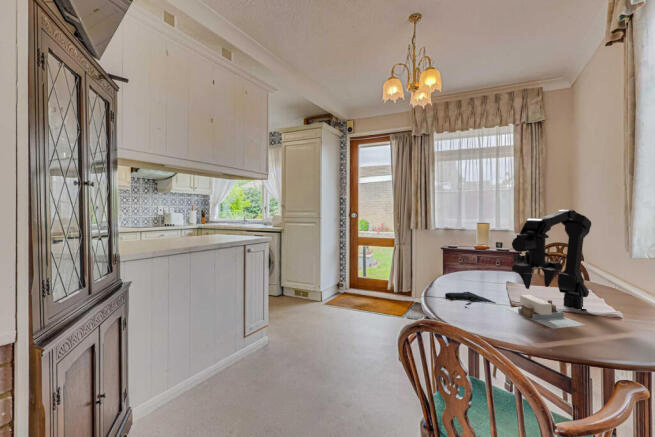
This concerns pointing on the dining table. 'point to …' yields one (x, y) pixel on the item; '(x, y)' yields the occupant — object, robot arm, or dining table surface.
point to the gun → (467, 297)
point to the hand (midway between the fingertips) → (537, 287)
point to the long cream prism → (536, 304)
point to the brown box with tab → (529, 311)
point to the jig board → (550, 319)
